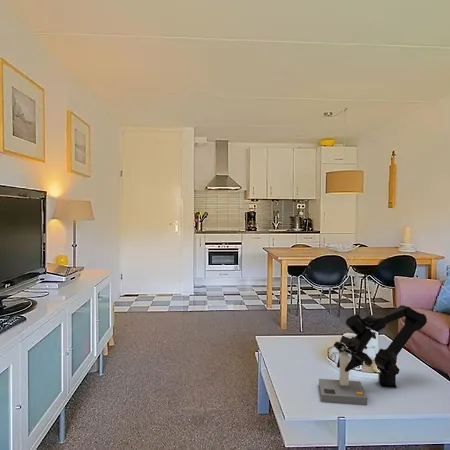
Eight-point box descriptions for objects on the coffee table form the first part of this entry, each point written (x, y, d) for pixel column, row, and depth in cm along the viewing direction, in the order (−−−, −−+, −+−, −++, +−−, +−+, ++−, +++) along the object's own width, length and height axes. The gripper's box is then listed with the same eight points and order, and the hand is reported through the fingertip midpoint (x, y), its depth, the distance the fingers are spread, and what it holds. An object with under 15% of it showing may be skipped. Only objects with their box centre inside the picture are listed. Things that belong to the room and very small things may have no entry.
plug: (347, 382, 173) (347, 352, 173) (348, 385, 170) (348, 354, 169) (339, 381, 174) (339, 351, 173) (340, 385, 170) (340, 354, 170)
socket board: (360, 387, 177) (360, 379, 177) (367, 405, 162) (367, 395, 161) (318, 385, 180) (318, 376, 180) (321, 401, 164) (321, 392, 164)
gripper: (336, 323, 181) (317, 351, 177) (367, 335, 164) (346, 365, 160) (350, 338, 184) (331, 365, 180) (381, 351, 168) (361, 381, 163)
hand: (341, 369), depth 171 cm, fingers closed on plug, 5 cm apart
